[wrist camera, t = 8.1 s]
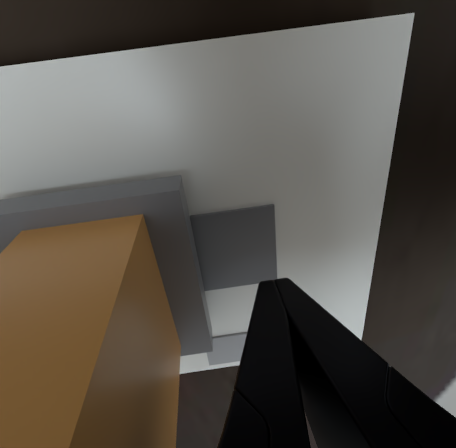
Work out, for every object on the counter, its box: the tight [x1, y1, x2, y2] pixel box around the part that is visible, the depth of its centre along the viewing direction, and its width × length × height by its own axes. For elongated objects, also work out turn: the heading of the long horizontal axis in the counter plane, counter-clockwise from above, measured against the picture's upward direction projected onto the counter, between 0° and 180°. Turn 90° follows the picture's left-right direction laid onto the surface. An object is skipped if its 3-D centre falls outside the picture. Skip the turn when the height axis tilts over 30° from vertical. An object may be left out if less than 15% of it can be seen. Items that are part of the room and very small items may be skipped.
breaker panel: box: [0, 13, 415, 374], centre depth 11 cm, size 22×12×2 cm, turn 96°
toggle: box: [0, 175, 213, 448], centre depth 6 cm, size 5×6×8 cm
